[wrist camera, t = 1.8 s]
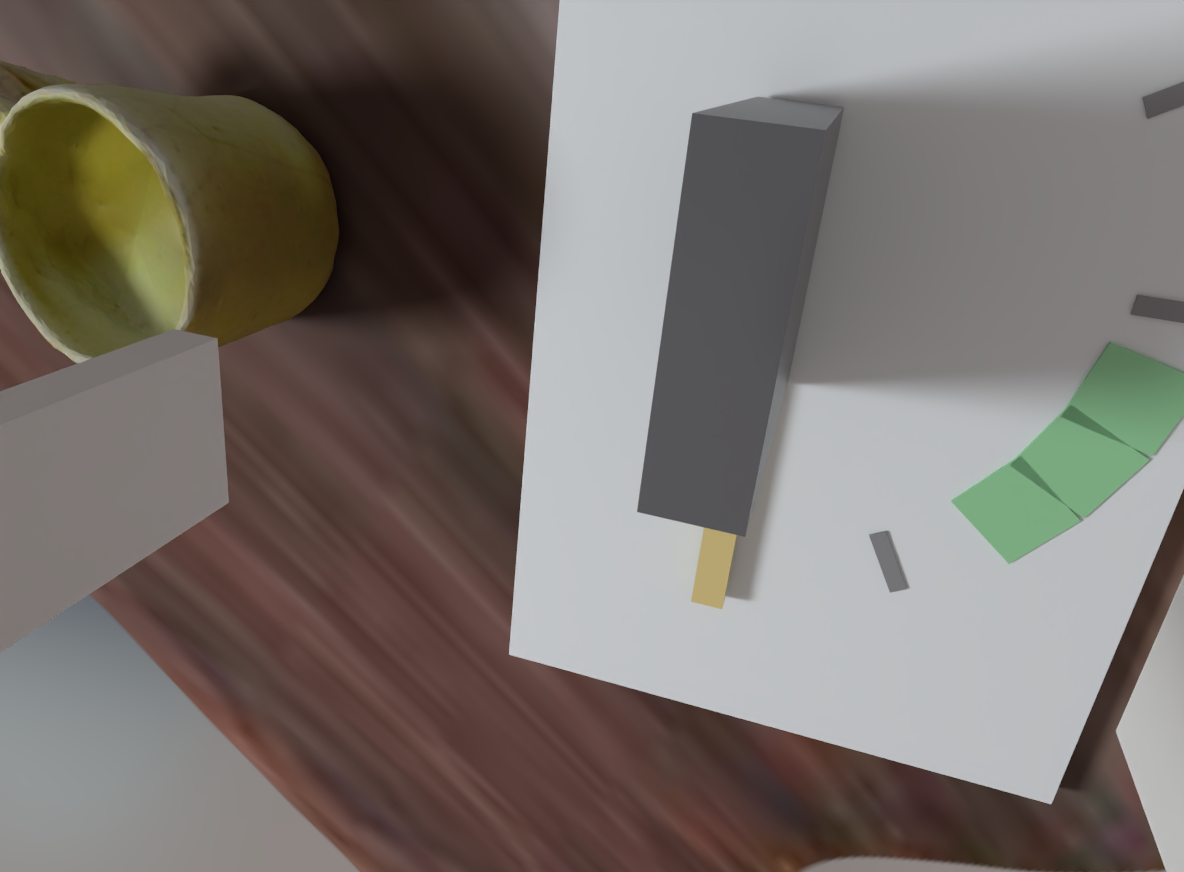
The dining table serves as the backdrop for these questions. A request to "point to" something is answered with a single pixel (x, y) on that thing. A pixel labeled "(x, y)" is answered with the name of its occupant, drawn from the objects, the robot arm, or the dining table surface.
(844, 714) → the board
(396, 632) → the dining table surface
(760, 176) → the gray bar
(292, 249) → the mug
